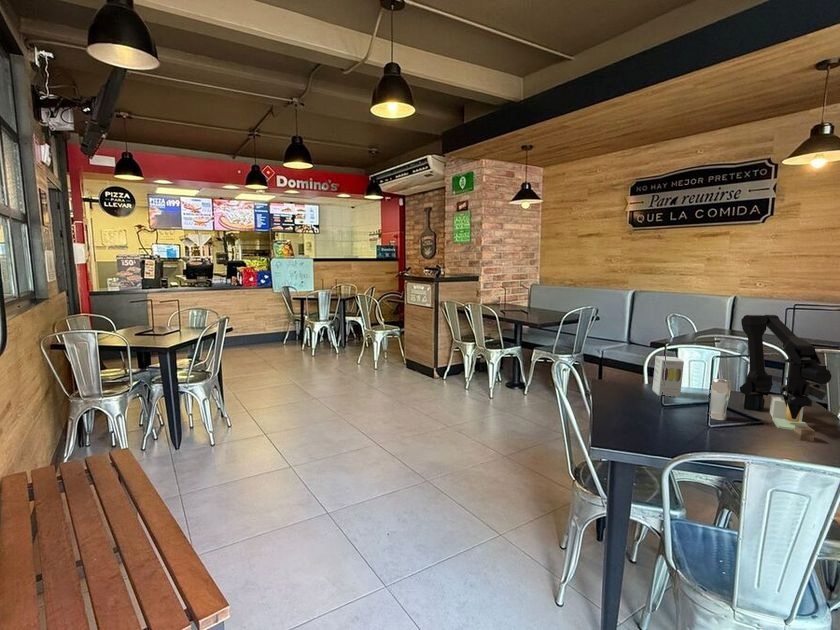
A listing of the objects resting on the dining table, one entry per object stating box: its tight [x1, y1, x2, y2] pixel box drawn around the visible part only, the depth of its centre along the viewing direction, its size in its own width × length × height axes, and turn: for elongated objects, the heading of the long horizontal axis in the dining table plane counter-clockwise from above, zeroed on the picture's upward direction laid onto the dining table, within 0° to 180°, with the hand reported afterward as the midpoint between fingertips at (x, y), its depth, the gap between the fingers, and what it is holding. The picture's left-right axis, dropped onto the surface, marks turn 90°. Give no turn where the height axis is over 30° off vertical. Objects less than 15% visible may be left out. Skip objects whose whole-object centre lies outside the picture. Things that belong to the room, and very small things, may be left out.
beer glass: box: [708, 378, 732, 421], centre depth 179 cm, size 7×7×15 cm
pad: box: [771, 417, 810, 431], centre depth 172 cm, size 10×10×1 cm
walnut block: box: [793, 425, 816, 443], centre depth 160 cm, size 4×4×4 cm
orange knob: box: [785, 404, 800, 422], centre depth 171 cm, size 4×4×6 cm
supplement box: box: [652, 355, 685, 398], centre depth 209 cm, size 10×9×17 cm
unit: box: [769, 395, 805, 422], centre depth 181 cm, size 9×7×7 cm
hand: (792, 417), depth 172 cm, fingers closed on orange knob, 4 cm apart
